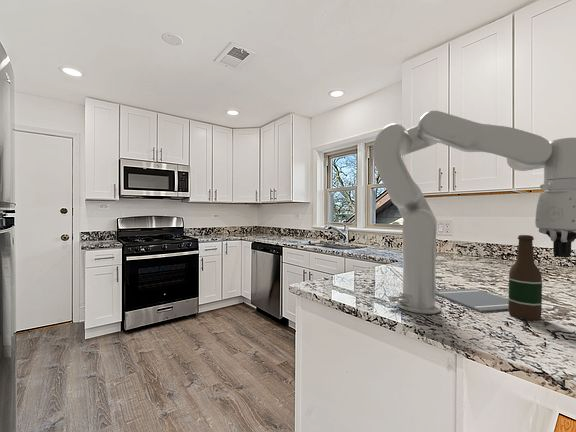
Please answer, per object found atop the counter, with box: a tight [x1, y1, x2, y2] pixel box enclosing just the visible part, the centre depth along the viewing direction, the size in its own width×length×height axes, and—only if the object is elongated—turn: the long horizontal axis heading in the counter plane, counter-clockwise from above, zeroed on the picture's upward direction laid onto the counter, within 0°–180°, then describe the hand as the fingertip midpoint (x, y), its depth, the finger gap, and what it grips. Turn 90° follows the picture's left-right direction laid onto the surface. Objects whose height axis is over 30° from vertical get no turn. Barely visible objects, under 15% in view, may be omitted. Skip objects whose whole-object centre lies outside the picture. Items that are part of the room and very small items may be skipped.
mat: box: [435, 288, 509, 314], centre depth 99 cm, size 20×22×1 cm
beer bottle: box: [507, 234, 543, 322], centre depth 83 cm, size 8×8×24 cm
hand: (561, 256), depth 73 cm, fingers closed
